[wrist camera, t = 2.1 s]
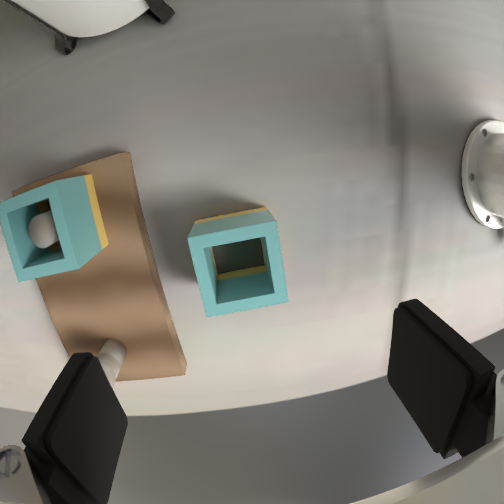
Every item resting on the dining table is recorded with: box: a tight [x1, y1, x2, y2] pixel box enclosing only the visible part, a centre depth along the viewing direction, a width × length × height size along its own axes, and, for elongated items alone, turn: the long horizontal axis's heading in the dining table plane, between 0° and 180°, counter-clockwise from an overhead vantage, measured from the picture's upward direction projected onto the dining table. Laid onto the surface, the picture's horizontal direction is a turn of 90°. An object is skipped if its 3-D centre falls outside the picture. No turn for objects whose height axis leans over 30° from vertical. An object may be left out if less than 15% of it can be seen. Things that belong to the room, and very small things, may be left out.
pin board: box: [12, 152, 187, 387], centre depth 24 cm, size 21×12×7 cm, turn 10°
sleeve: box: [187, 207, 289, 317], centre depth 24 cm, size 6×6×6 cm
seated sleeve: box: [0, 174, 109, 282], centre depth 20 cm, size 6×6×6 cm
